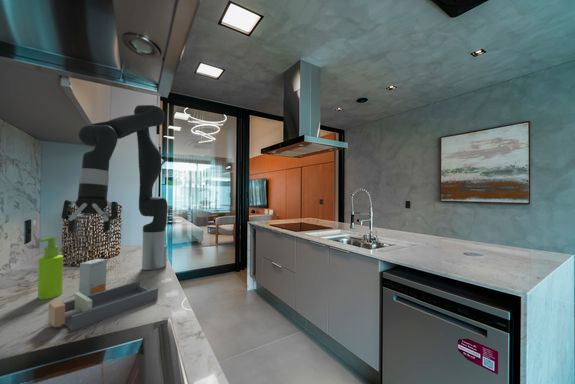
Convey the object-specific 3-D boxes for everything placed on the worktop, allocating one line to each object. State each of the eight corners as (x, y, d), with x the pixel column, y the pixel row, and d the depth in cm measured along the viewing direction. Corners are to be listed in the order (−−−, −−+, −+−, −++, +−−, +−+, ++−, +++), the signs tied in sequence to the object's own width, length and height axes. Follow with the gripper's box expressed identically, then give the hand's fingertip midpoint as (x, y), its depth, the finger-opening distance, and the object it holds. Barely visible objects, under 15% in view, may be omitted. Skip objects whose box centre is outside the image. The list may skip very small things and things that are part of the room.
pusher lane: (139, 290, 85) (139, 280, 85) (157, 299, 79) (157, 288, 79) (56, 317, 67) (56, 304, 67) (72, 330, 60) (72, 316, 60)
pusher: (78, 308, 70) (79, 291, 70) (91, 318, 65) (92, 299, 65) (45, 319, 64) (46, 300, 64) (57, 330, 59) (57, 310, 59)
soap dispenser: (30, 301, 76) (31, 239, 76) (47, 292, 83) (48, 235, 83) (51, 300, 77) (52, 238, 77) (66, 291, 84) (67, 235, 84)
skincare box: (88, 300, 77) (89, 264, 77) (78, 299, 78) (79, 263, 78) (106, 293, 83) (107, 259, 83) (96, 292, 84) (97, 258, 84)
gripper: (122, 186, 85) (118, 231, 83) (72, 183, 80) (67, 231, 78) (116, 183, 78) (111, 233, 76) (61, 180, 73) (55, 233, 71)
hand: (89, 232), depth 77 cm, fingers open, 8 cm apart
